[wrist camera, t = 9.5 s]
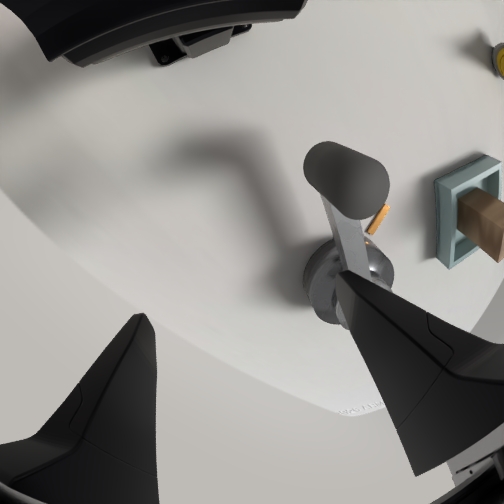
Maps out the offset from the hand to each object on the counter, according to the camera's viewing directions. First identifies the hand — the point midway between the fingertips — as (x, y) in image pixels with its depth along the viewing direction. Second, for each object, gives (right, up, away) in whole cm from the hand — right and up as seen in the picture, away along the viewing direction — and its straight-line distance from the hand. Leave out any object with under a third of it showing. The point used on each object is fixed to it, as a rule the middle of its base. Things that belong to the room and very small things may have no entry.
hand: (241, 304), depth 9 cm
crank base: (+10, +1, +15) cm, 18 cm away
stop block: (+24, +7, +14) cm, 29 cm away
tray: (+24, +7, +14) cm, 29 cm away
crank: (+7, +2, +10) cm, 13 cm away
